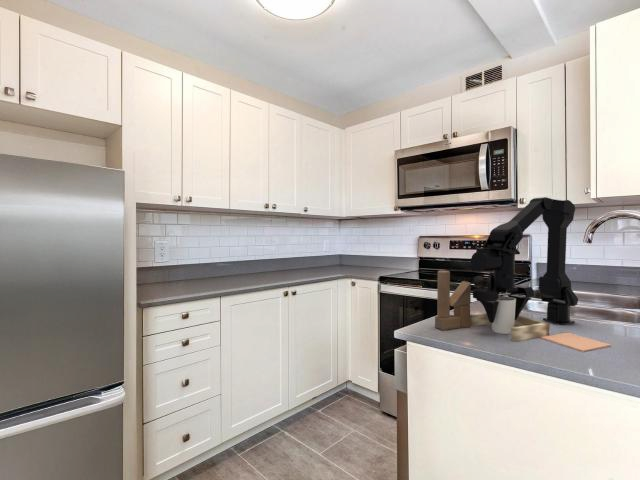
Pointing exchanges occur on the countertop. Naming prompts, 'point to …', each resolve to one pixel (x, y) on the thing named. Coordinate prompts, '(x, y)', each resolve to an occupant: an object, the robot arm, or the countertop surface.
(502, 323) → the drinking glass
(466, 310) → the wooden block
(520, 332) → the beige angled bar
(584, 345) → the terracotta mat
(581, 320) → the countertop surface
